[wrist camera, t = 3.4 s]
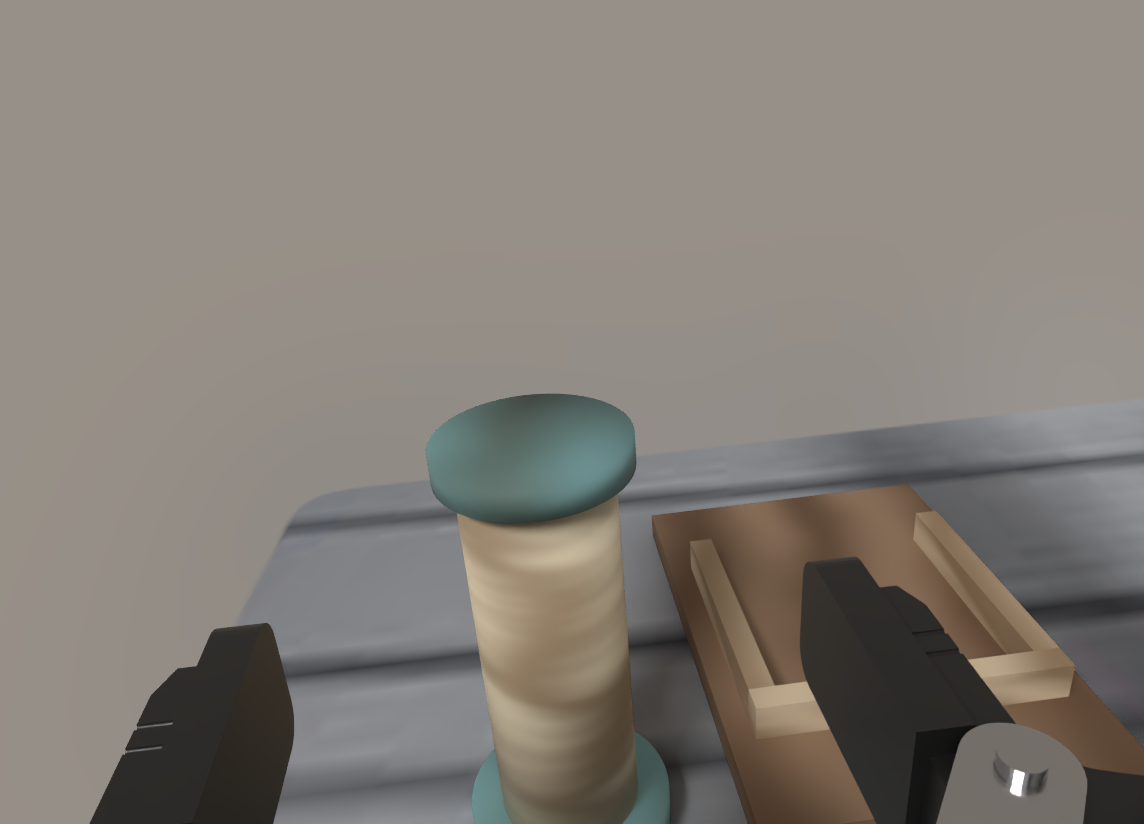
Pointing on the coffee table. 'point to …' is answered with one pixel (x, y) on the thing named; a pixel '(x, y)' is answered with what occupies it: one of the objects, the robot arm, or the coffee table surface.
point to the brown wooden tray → (772, 639)
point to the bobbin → (550, 608)
